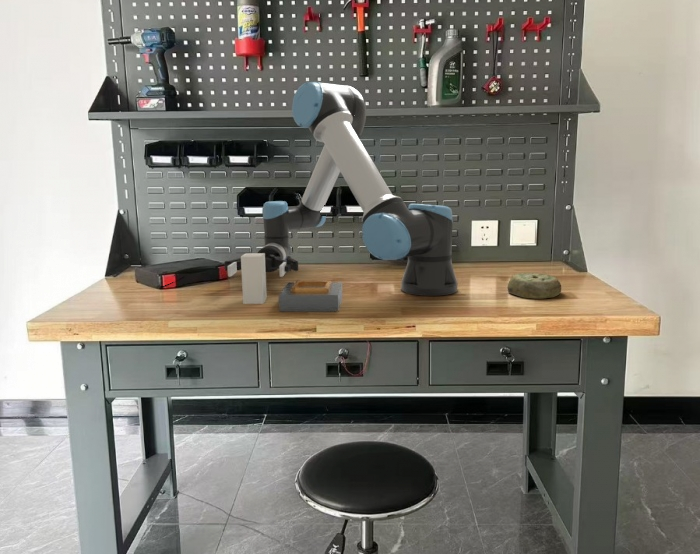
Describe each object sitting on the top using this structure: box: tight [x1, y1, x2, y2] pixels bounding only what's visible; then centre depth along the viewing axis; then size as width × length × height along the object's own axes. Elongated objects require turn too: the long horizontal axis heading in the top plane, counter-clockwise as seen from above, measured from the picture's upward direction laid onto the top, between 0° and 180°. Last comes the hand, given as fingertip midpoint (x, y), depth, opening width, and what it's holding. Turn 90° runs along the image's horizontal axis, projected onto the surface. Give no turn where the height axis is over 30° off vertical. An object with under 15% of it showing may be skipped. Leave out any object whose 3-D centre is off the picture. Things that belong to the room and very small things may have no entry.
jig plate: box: [278, 280, 343, 313], centre depth 148 cm, size 14×14×5 cm
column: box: [240, 252, 268, 305], centre depth 151 cm, size 5×5×12 cm
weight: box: [507, 272, 562, 300], centre depth 156 cm, size 14×14×5 cm
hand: (254, 271), depth 155 cm, fingers open, 13 cm apart
